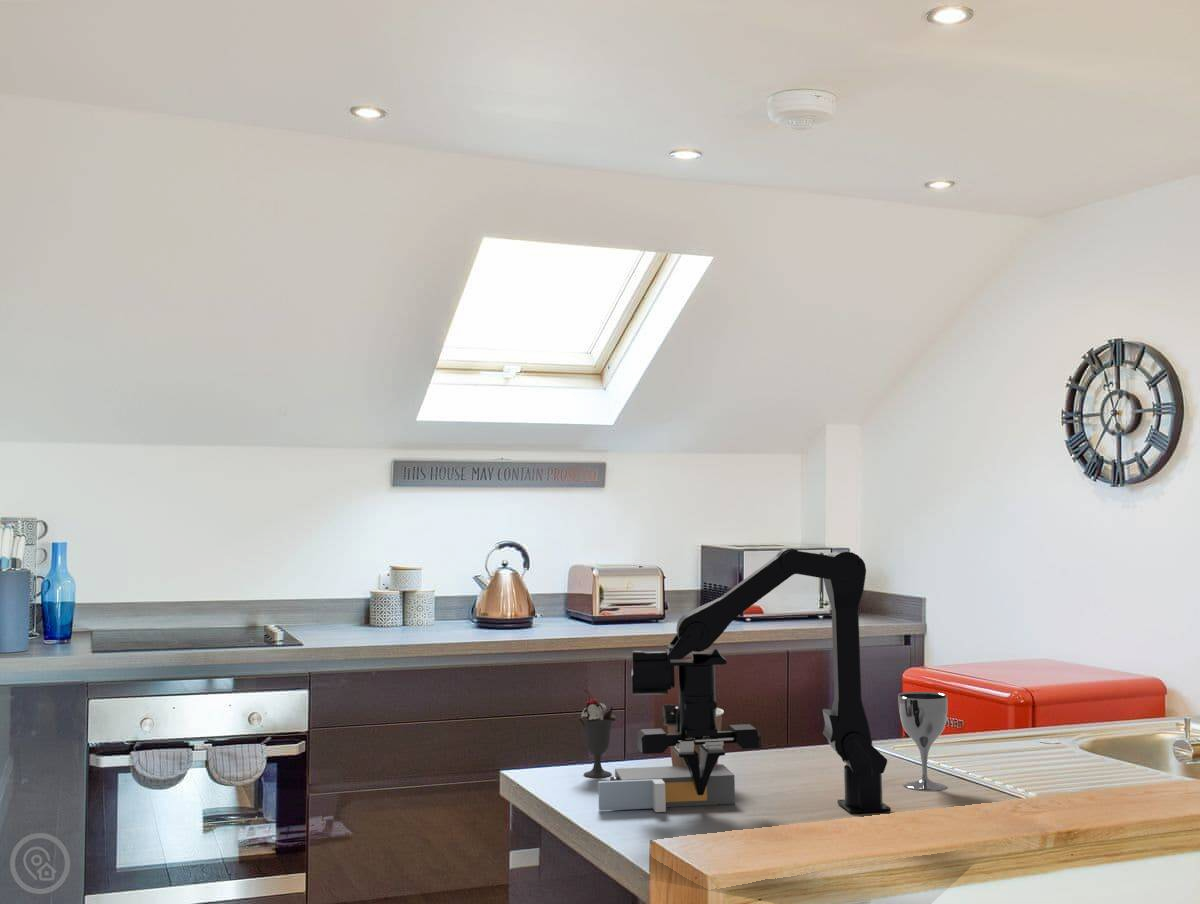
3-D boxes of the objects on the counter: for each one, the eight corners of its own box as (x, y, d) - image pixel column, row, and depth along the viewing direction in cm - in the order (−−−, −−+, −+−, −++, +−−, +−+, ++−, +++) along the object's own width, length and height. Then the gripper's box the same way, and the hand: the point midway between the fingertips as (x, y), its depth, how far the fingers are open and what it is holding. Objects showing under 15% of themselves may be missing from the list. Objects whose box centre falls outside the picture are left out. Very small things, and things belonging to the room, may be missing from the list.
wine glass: (940, 779, 198) (938, 691, 198) (956, 791, 190) (954, 698, 190) (894, 780, 197) (892, 692, 198) (908, 792, 189) (906, 699, 190)
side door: (665, 811, 178) (665, 783, 179) (601, 814, 177) (600, 786, 177) (662, 806, 181) (661, 778, 182) (598, 809, 180) (598, 781, 180)
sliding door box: (735, 803, 183) (734, 771, 184) (614, 809, 181) (614, 777, 181) (723, 791, 191) (722, 761, 192) (608, 796, 189) (607, 765, 189)
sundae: (573, 772, 207) (572, 688, 207) (608, 769, 209) (607, 685, 210) (585, 780, 200) (584, 693, 201) (621, 777, 203) (620, 690, 204)
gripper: (742, 683, 190) (745, 779, 189) (630, 688, 188) (632, 786, 187) (760, 693, 179) (763, 796, 178) (641, 699, 177) (644, 803, 176)
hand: (700, 794), depth 180 cm, fingers closed
